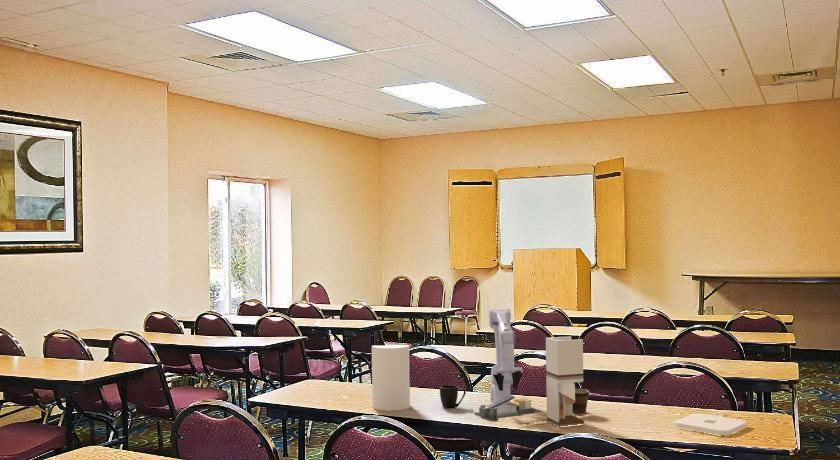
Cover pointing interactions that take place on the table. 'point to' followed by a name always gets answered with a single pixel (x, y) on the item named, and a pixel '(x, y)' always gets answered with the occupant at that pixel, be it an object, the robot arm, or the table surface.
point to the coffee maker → (563, 378)
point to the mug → (450, 396)
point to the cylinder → (390, 377)
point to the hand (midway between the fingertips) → (508, 389)
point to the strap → (499, 402)
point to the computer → (711, 424)
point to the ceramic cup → (580, 401)
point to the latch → (523, 403)
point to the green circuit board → (502, 411)
